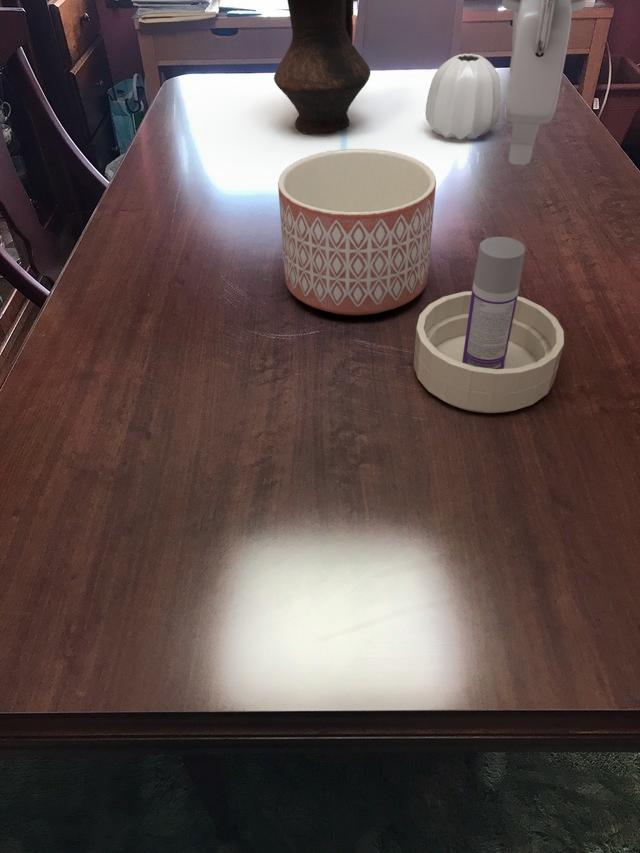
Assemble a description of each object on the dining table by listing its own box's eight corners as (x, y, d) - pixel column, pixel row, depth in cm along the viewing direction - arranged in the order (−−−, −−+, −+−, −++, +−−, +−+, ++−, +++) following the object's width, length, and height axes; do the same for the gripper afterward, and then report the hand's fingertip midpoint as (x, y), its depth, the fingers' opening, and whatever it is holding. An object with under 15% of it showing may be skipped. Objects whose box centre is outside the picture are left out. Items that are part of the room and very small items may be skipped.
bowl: (552, 340, 83) (562, 298, 79) (553, 426, 72) (565, 381, 68) (422, 326, 86) (426, 284, 82) (404, 406, 75) (407, 362, 71)
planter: (256, 294, 93) (245, 187, 83) (340, 238, 104) (339, 138, 94) (375, 342, 84) (378, 229, 74) (452, 275, 95) (465, 169, 85)
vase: (419, 142, 131) (424, 66, 122) (432, 118, 140) (437, 45, 131) (492, 149, 127) (503, 70, 118) (500, 123, 137) (511, 48, 128)
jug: (346, 150, 129) (346, -41, 109) (260, 137, 135) (245, -46, 115) (387, 114, 143) (394, -62, 123) (307, 103, 149) (301, -65, 129)
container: (472, 350, 81) (490, 231, 71) (510, 363, 79) (534, 243, 68) (454, 370, 78) (470, 250, 68) (492, 385, 76) (514, 263, 66)
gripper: (603, -17, 44) (558, 192, 53) (589, -66, 58) (555, 105, 68) (502, -18, 45) (475, 187, 54) (513, -66, 60) (490, 102, 69)
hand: (520, 141), depth 61 cm, fingers open, 8 cm apart
